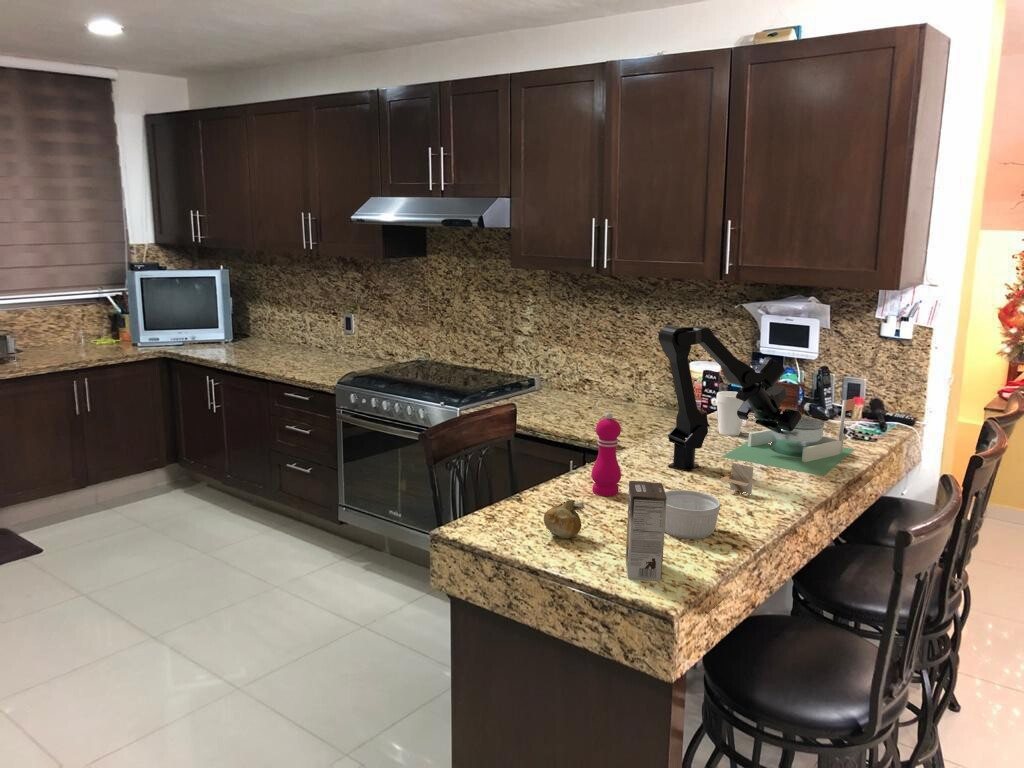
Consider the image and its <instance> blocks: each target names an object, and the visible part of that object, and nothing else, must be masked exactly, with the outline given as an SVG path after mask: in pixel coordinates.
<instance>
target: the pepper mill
mask: <svg viewBox="0 0 1024 768" xmlns="http://www.w3.org/2000/svg"><path fill="white" fill-rule="evenodd" d="M604 417H605V418H602V419H601V420H599V421H598V422H597V424H596V426H595V433H596V435H597V437H598V438H597V443H596V444H597V445H598V452H597V453H598V454H597V456H596V457H597V458H596V460H595V462H594V464H593V466H592V469H591V472H590V473H591V475H590V476H591V479H592V480H593V482H594V483H593V484H592V493H593V494H594V495H596V496H601V497H613V496H614V497H615V496H617V495H618V494H619V485H618V483H619V482H620V480H621V479H622V471H621V467H620V465H619V462H618V459H617V446H618V445H619V443H618V442H619V439H618V437H619V436H620V435H621V431H622V427H621V424H620V423H619V422H618V421H617V420H616V419H613V417H614V416H613V414H612V412H606V414H605V416H604Z"/></svg>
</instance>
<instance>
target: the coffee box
mask: <svg viewBox="0 0 1024 768" xmlns="http://www.w3.org/2000/svg"><path fill="white" fill-rule="evenodd" d="M665 492H666V491H665V489H664V485H663V482H652V481H643V480H629V481H628V500H627V502H628V503H627V519H626V521H627V523H626V542H625V543H626V544H625V548H626V549H625V564H626V566H625V567H626V573H627V579H628V580H640V581H656V582H660V581H662V576H663V574H662V573H663V572H662V571H663V560H664V546H665V533H666V532H665V519H666V503H667V497H666V494H665Z"/></svg>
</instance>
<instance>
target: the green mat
mask: <svg viewBox="0 0 1024 768" xmlns="http://www.w3.org/2000/svg"><path fill="white" fill-rule="evenodd" d="M770 447H771V445H770V444H768V443H767V444H762V445H757V446H752V447H750V446H748V441H746V442H745V443H743V444H740V446H738V447H736V448H734V449H732V450H730V451H729V452H727V453H725V454H723V455H722V456H721V458H725V459H730V460H734V461H741V462H744V463H745V462H747V463H751V464H758V465H763V466H768V467H773V468H778V469H784V470H789V471H794V472H800V473H805V474H810V475H815V476H816V475H817V476H821V477H825V476H827V474H829V473H830V472H831V471H832V470H833V469H834V468H835V467H837V465H839V464H841V462H842V461H843V460H845V459H846V458H848V456H849V455H851V454H852V453H853V452H854V451H855V450H856V449H855V448H849V447H844V446H843V447H842V454H839V455H834V456H830V457H826V458H821V459H817V460H812V461H808V462H802V457H795V456H788V455H784V454H780V453H777V452H774V451H772V450H771V449H770Z"/></svg>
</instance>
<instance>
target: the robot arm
mask: <svg viewBox="0 0 1024 768" xmlns="http://www.w3.org/2000/svg"><path fill="white" fill-rule="evenodd" d="M658 343H659V345H660V347H661V349H662V352H663V353H664V355H665V356H666V358H667V359H668V361H669V364H670V370H671V375H672V380H673V384H674V391H675V394H676V400H677V405H678V412H677V414H676V417H675V418H676V419H675V420H676V421H675V422H676V425H675V426H674V427H673V429H671V431H670V432H669V433H668V434H667V439H668V441H669V443H672V444H674V445H673V458H672V463H669V464H668V465H667V467H668V468H672V469H677V470H682V471H687V472H691V471H693V470H695V469H696V468H698V467H699V466H700V464H698V463H695V461H696V460H695V459H696V450H697V449H702V447H703V443H704V441H705V439H706V436H707V435H708V434H709V433H708V432H709V428H708V427H710V424H709V422H708V414H707V412H705V411H702V410H701V409H699V408H698V404H697V400H696V394H695V389H694V383H693V378H692V373H691V368H690V362H689V355H690V352H691V349H692V346H695V345H698V344H699V345H700V346H701V348H703V350H704V351H705V352H706V353H707V354H708V355H709V356H710V357H711V358H712V359H713V360H714V361H715V362H716V363H717V364H718V366H719V367H720V368H721V371H722V374H723V376H724V377H725V378H726V380H727V382H728V383H729V384H731V385H733V386H738V387H740V389H738V390H737V392H738V393H737V394H736V398H737V399H740V400H742V401H743V403H742V404H741V406H740V407H739V409H738V410H737V415H738V417H739V418H740V419H743V420H742V421H748V419H749V414H750V413H751V414H753V416H752V417H753V419H755V424H757V425H759V426H761V427H764V428H766V429H767V430H769V429H770V430H772V431H774V432H777V433H781V431H782V429H783V430H787V431H792V430H793V429H794V428H795V426H796V425H797V423H798V422H799V420H800V419H801V417H803V415H802V413H801V411H800V410H799V409H796V408H795V409H794V408H790V407H788V408H787V407H786V408H785V409H784V410H783V408H781V404H780V403H781V402H783V401H784V400H785V399H787V398H788V394H787V389H786V386H784V385H779V384H778V385H777V382H778V381H779V380H780V379H781V378H782V377H783V376H784V374H785V373H786V368H785V367H784V365H781V364H780V363H779V362H778V361H775V360H774V359H773V358H772V357H769V356H768V357H767V356H766V358H764V360H763V362H761V364H760V365H759V366H758V367H757V369H756V370H755V369H754V368H753V367H752V366H750V365H748V363H747V362H746V363H745V362H744V361H742V360H740V359H738V358H737V357H736V356H735V355H734V354H733V353H732V352H731V351H730V350H729V349H728V348H727V347H726V346H725V345H724V344H723V343H722V341H720V339H719V338H718V337H717V336H716V335H715V334H714V333H713V331H712V330H711V328H709V327H706V326H700V325H696V326H688V327H687V326H685V327H683V326H682V327H680V326H674V325H664V327H662V329H660V332H659V333H658Z"/></svg>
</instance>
